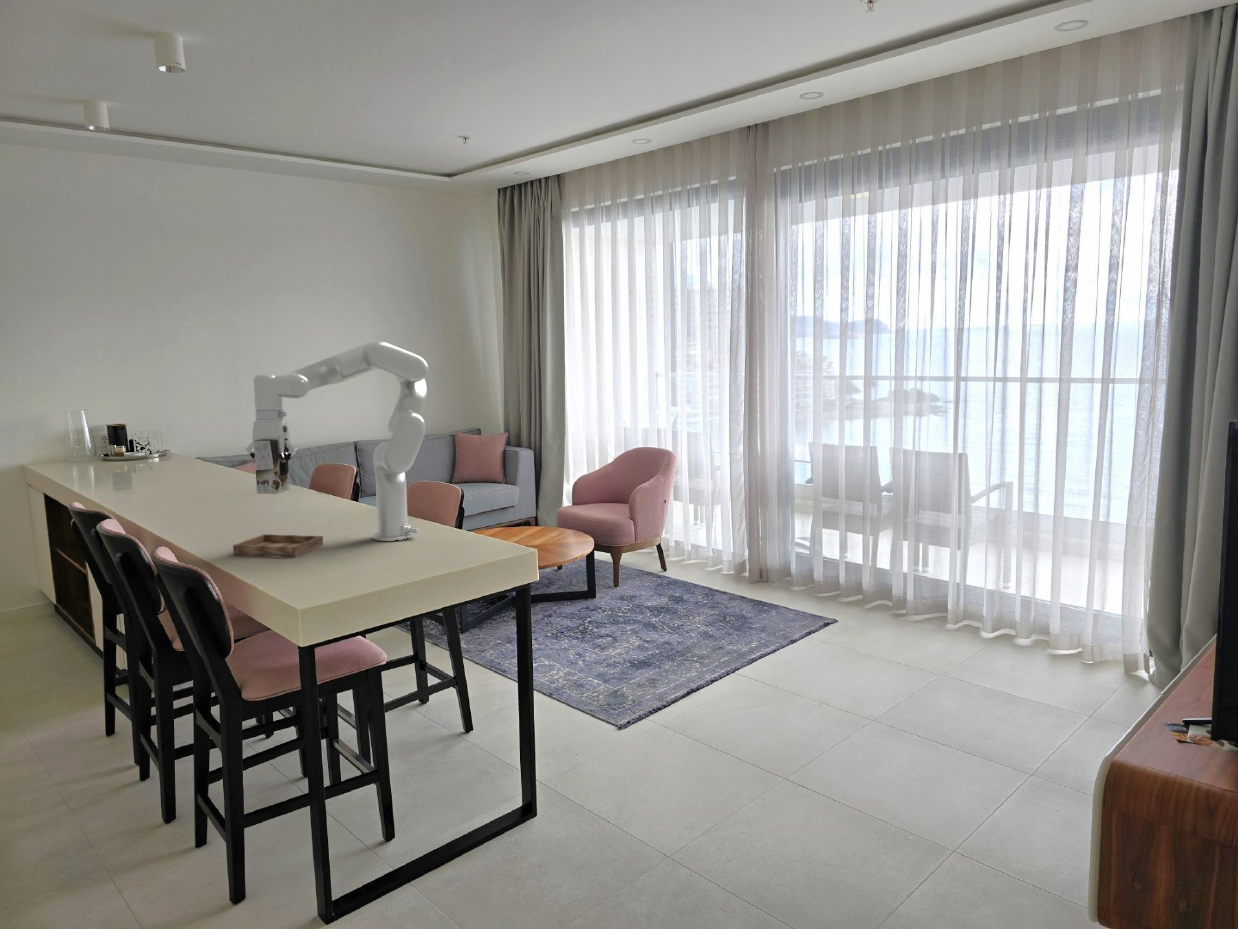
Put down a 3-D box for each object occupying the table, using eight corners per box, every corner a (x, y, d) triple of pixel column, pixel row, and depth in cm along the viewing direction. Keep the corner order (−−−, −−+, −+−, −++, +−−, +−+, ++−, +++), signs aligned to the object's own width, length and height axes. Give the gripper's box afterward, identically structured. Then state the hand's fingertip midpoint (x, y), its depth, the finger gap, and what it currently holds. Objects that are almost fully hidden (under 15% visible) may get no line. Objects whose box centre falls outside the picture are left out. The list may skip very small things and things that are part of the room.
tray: (323, 545, 256) (322, 536, 256) (295, 557, 240) (295, 547, 240) (264, 543, 259) (264, 534, 259) (233, 555, 243) (233, 545, 243)
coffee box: (277, 494, 242) (274, 440, 240) (256, 494, 242) (252, 440, 240) (290, 489, 251) (287, 437, 249) (270, 489, 251) (267, 437, 249)
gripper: (303, 415, 246) (306, 473, 248) (250, 414, 248) (253, 472, 251) (289, 416, 238) (292, 477, 240) (235, 416, 241) (238, 476, 243)
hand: (272, 474), depth 246 cm, fingers closed on coffee box, 6 cm apart
